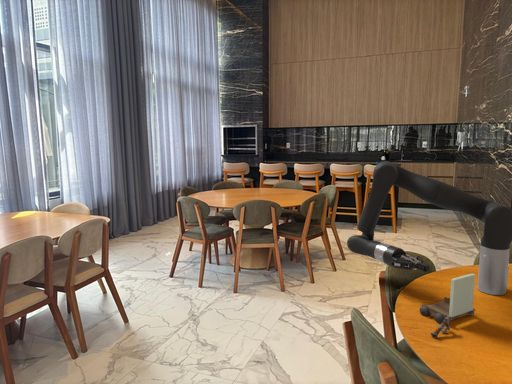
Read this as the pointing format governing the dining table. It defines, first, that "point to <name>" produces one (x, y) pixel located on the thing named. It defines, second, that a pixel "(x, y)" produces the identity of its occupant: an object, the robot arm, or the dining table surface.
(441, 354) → the dining table surface
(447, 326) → the wooden post with brackets
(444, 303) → the flatbed
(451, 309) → the panel
